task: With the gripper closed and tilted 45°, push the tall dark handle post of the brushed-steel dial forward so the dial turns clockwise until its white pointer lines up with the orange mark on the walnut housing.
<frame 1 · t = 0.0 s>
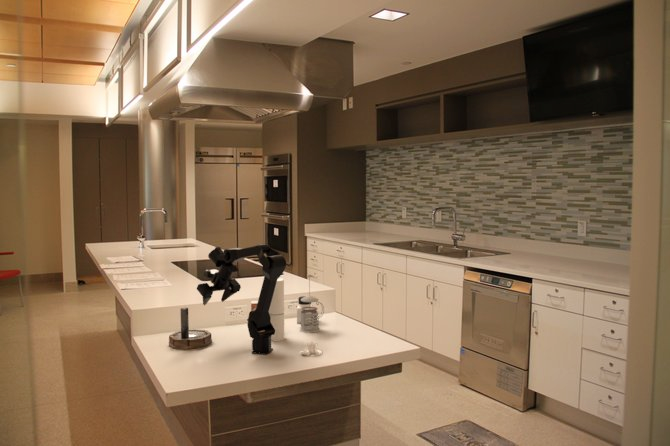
hand: (213, 302, 227), 15 cm above the worktop, tool tilted 35°, fingers open, 9 cm apart
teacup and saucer: (304, 353, 207), on the worktop
dial housing: (190, 343, 220), on the worktop
french press: (311, 330, 240), on the worktop
small box: (260, 330, 239), on the worktop
dial: (190, 323, 219), point 8 cm above the worktop, hinge at 0.0°
cylindrical container: (275, 338, 226), on the worktop
medicine bottle: (305, 321, 256), on the worktop
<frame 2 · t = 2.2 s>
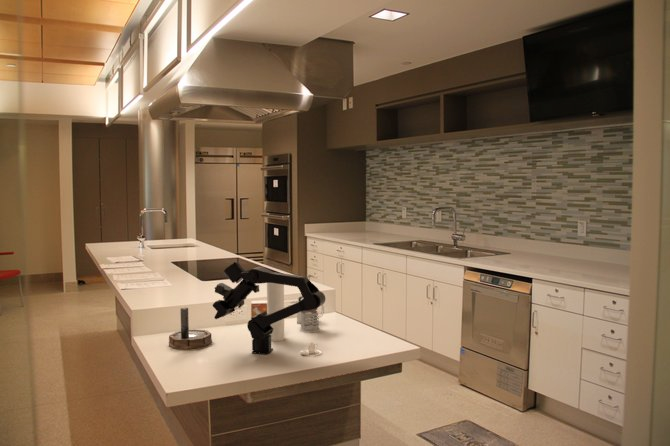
hand: (215, 318, 212), 12 cm above the worktop, tool tilted 45°, fingers closed
nothing on the worktop moved.
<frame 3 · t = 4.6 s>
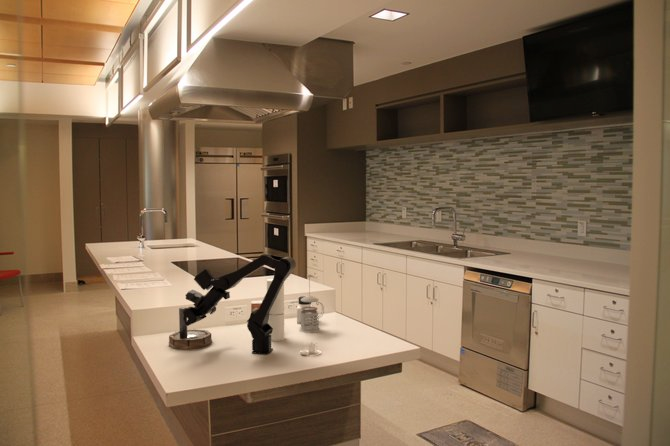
hand: (186, 324, 214), 9 cm above the worktop, tool tilted 45°, fingers closed, pressing on dial
dial: (190, 323, 219), point 8 cm above the worktop, hinge at -8.3°, touching gripper
everything else where it was.
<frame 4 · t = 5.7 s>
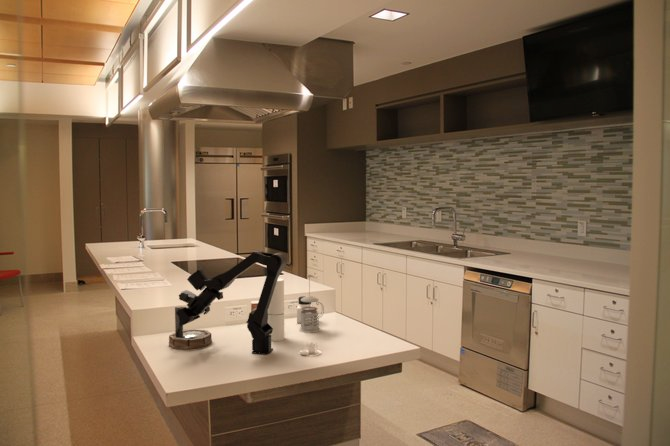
hand: (180, 325, 215), 9 cm above the worktop, tool tilted 45°, fingers closed
dial: (190, 323, 219), point 8 cm above the worktop, hinge at -45.5°, touching gripper
everything else where it was.
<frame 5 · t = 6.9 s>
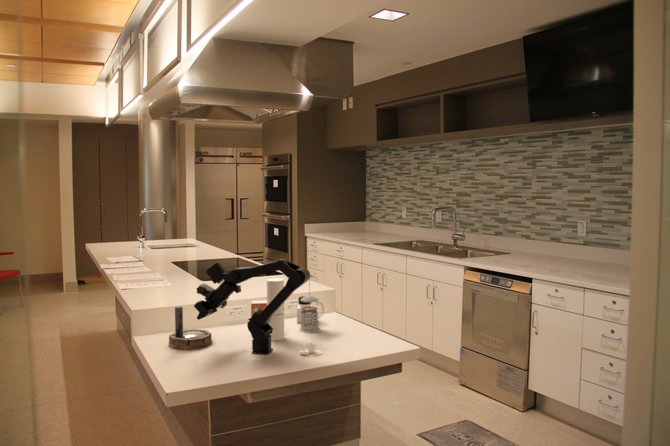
hand: (197, 318, 213), 11 cm above the worktop, tool tilted 45°, fingers closed
dial: (190, 323, 219), point 8 cm above the worktop, hinge at -45.5°
everything else where it was.
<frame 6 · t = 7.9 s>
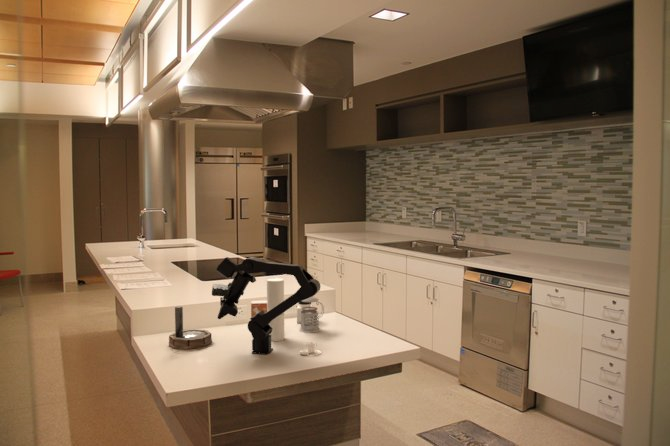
hand: (218, 318, 210), 12 cm above the worktop, tool tilted 30°, fingers closed
nothing on the worktop moved.
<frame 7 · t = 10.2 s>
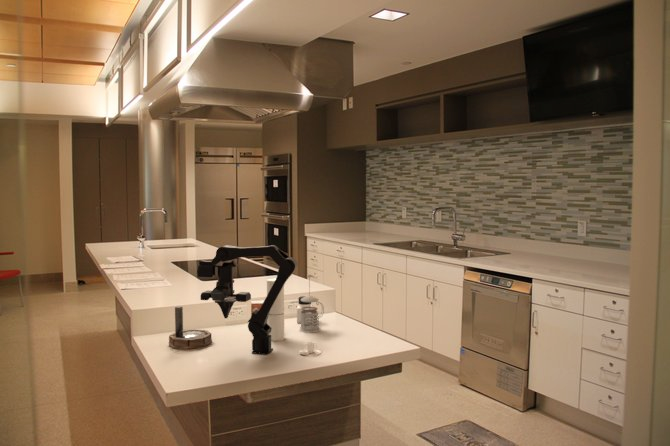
hand: (226, 318, 208), 13 cm above the worktop, tool pointing down, fingers closed
nothing on the worktop moved.
at the end: dial at -46° (first picture: +0°) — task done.
